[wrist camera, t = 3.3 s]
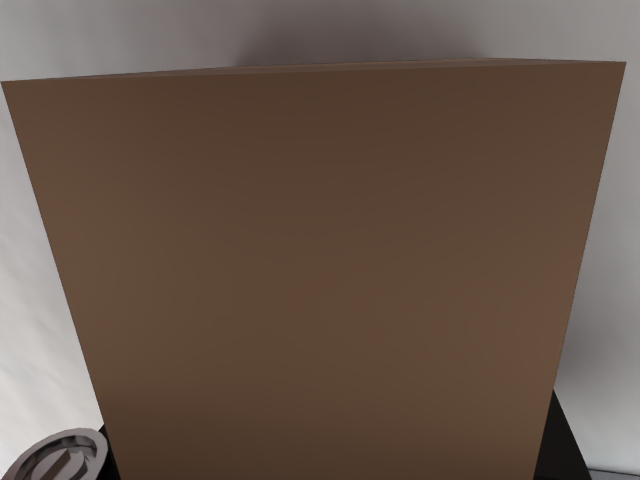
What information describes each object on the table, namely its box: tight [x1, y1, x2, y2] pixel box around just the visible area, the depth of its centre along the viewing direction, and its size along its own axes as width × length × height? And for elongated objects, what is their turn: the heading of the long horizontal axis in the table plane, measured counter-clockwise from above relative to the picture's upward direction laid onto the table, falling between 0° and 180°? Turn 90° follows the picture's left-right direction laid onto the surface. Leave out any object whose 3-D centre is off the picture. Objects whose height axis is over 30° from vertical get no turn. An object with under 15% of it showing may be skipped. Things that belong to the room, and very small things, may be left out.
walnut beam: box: [0, 58, 626, 480], centre depth 8 cm, size 12×4×5 cm, turn 2°
